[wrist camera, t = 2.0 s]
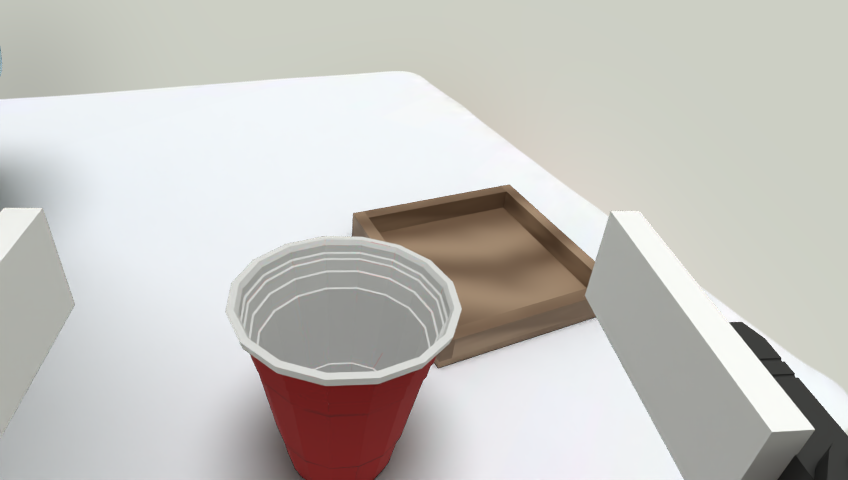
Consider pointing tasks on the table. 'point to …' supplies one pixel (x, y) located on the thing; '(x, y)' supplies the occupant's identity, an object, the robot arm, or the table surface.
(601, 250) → the robot arm
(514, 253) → the cup tray
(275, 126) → the table surface
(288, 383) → the plastic cup
